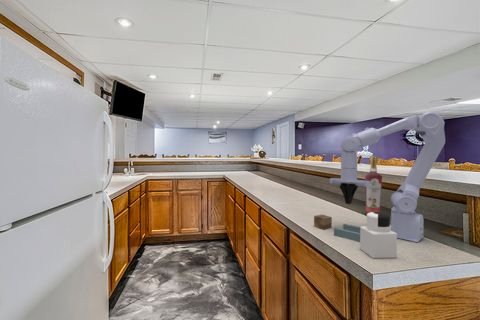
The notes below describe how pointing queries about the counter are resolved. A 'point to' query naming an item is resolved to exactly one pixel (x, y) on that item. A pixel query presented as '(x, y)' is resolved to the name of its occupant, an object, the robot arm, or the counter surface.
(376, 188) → the liquor
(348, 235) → the chute
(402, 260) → the counter surface
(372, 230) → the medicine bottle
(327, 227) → the walnut block
